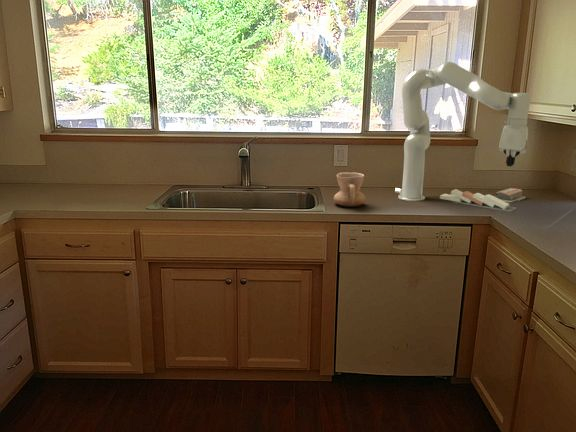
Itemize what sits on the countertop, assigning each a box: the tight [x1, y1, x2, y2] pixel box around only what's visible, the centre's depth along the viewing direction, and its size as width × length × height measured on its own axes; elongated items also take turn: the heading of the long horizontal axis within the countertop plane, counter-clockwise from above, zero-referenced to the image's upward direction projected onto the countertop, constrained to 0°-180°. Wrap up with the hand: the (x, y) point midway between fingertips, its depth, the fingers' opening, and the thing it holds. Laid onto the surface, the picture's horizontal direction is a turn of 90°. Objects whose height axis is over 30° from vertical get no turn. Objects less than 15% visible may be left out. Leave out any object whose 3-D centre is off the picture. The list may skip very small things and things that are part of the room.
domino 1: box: [439, 193, 464, 202], centre depth 221 cm, size 2×5×10 cm
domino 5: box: [483, 194, 510, 209], centre depth 207 cm, size 2×5×10 cm
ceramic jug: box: [333, 172, 366, 208], centre depth 209 cm, size 18×14×14 cm
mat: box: [452, 201, 518, 213], centre depth 211 cm, size 26×10×1 cm, turn 47°
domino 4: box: [473, 192, 497, 207], centre depth 210 cm, size 2×5×10 cm
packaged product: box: [494, 187, 527, 203], centre depth 225 cm, size 18×5×10 cm
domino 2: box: [449, 188, 473, 203], centre depth 217 cm, size 2×5×10 cm
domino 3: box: [462, 190, 485, 205], centre depth 214 cm, size 2×5×10 cm
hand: (509, 165), depth 200 cm, fingers closed
